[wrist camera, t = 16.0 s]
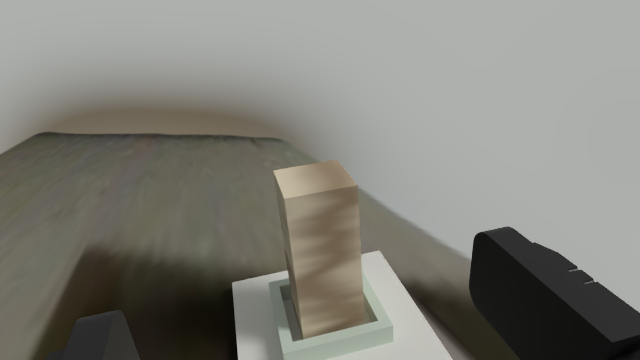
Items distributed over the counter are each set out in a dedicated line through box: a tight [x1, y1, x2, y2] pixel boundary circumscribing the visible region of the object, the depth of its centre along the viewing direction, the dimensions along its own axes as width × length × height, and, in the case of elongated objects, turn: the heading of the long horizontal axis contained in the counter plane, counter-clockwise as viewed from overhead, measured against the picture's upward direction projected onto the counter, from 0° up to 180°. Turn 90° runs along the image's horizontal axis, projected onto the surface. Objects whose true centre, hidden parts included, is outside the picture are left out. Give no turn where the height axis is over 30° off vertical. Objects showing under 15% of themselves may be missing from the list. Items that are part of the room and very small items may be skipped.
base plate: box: [232, 251, 453, 360], centre depth 33 cm, size 14×14×2 cm
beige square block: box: [273, 160, 365, 339], centre depth 30 cm, size 5×5×12 cm
